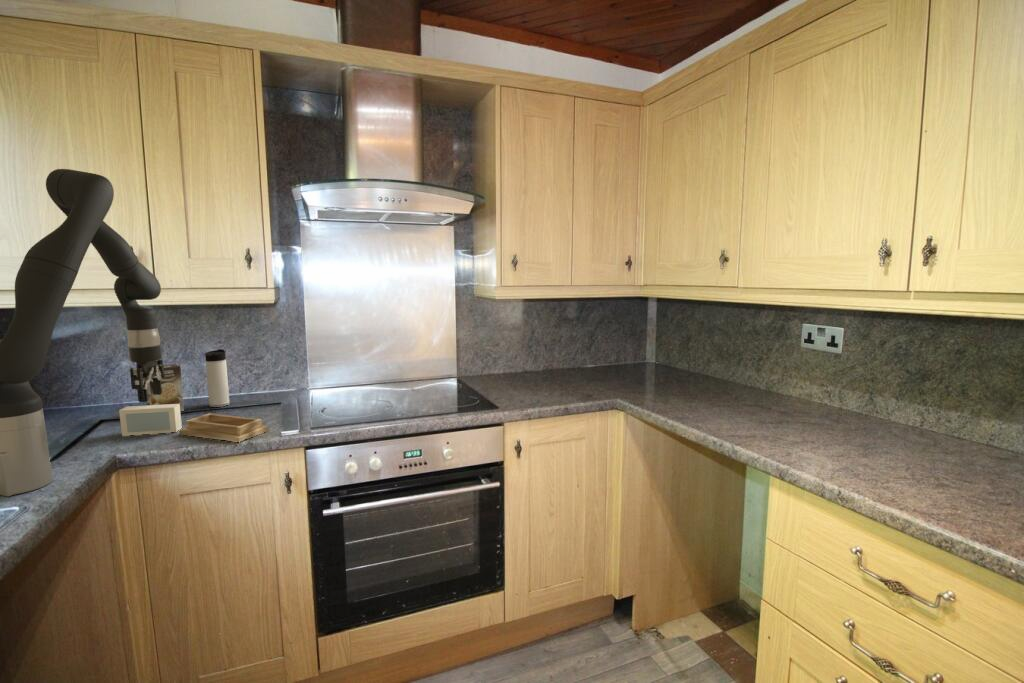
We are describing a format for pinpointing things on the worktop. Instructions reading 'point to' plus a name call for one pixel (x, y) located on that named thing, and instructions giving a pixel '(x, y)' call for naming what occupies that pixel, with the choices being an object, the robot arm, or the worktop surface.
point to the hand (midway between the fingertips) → (150, 398)
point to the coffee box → (168, 388)
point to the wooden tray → (224, 427)
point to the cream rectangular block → (150, 419)
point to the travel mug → (217, 378)
